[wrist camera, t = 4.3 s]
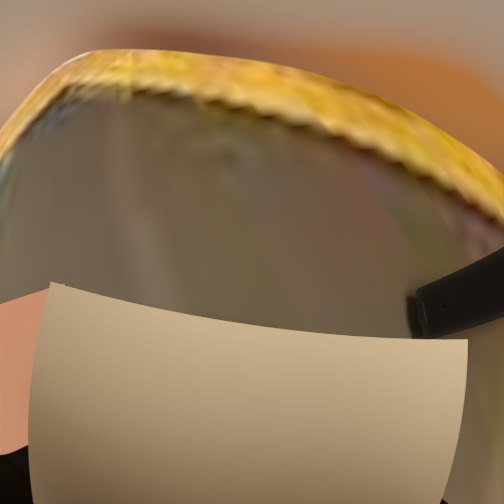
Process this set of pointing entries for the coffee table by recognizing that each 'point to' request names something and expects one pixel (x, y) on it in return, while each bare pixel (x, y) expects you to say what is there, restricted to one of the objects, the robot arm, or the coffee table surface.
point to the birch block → (234, 410)
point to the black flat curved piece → (463, 298)
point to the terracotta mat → (17, 366)
